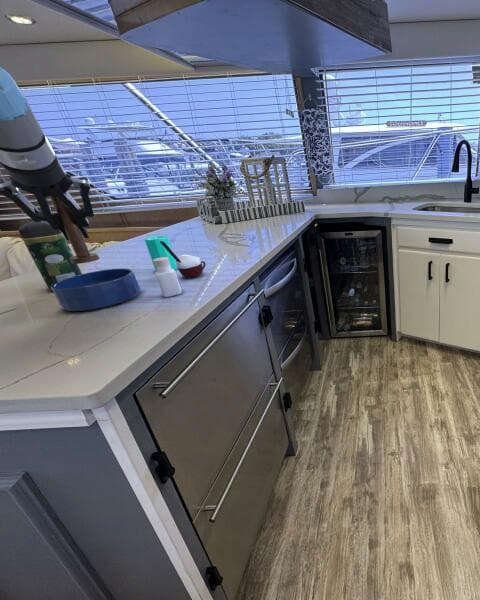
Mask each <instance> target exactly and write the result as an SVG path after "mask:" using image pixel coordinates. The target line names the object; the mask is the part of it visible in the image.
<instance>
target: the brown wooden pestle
mask: <svg viewBox="0 0 480 600" xmlns="http://www.w3.org/2000/svg"><path fill="white" fill-rule="evenodd" d="M49 199H50V200H51V203H52V205H53V207H54V209H55V211H56V213H57V214H58V216H59V218H60V220H61V223H62V225H63V227H64V229H65V232H66V234H67V236H68V238H69V240H68V241H69V242H70V243H69V244H70V245H71V247H72V250H73V252H74V254H75V255H73V257H70V258H69V259H70V261H71V263H72V264H78V265H80V264H87V263H91V262H92V263H93V262H97V261H98V260H100V256H99V253H97V252H92V253H91V252H90V250H89V248H88V246H87V244H86V241H85V238H84V236H83V234H82V233H81V231H80V229H79V227H78V226H77V224H76V223H75V221H74V218H73V213H72V212H71V210H70V209H69V208H68V207H67V206H66V205H65V204H64V202H63V201H61V200H60V199H59V198H58V197H57V196H49Z"/></svg>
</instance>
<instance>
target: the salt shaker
mask: <svg viewBox="0 0 480 600" xmlns="http://www.w3.org/2000/svg"><path fill="white" fill-rule="evenodd" d="M153 263H154V265H153V267H154V266H155V268H156V270H157V272H156V270H155V272H154V274H155V278H156V281H157V282H158V286H159V288H160V291H161V294H162V296H163V297H164V298H169V297H173V296H178V295H181V294H182V293H183V290H182V287H181V285H180V282H179V278H178V275H177V273H176V270H174V269H171V266H170V262H169V259H168V258H167V257H162V258H156V259H154V260H153V262H152V264H153ZM155 268H154V269H155Z"/></svg>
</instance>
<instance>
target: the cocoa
mask: <svg viewBox="0 0 480 600" xmlns="http://www.w3.org/2000/svg"><path fill="white" fill-rule="evenodd" d="M160 243H161V244H162V245H163V246H164V247H165V249H166V250H167V251H168V252H169V253H170V254H171V255H172V257H173V258H174V259H175V262H176V265H177V269H178V272H179V273H180V275H181V276H182V277H184V278H185V279H195V278H198V277H200V276H201V275H202V274H203V272H204V270H205V267H206V262H205V261H204V260H201V258H200V257H199V256H194V255H189V254H181V255H179V256H177V255H176V254H175V252H173V250H171V249H172V248H171V249H170V248H169V247H168V246H167V245H166V244H165V242H163V241H160Z"/></svg>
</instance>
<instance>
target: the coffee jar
mask: <svg viewBox="0 0 480 600" xmlns="http://www.w3.org/2000/svg"><path fill="white" fill-rule="evenodd" d="M17 231H18V233H19V235H20V238H21V240H22V241H23V243H24V245H25V247H26V249H27V251H28V253H29V256H30V257H31V258H32V260H33V263H34V264H35V266H36V268H37V270H38V271H39V273H40V275H41V277H42V279H43V281H44V283H45V285H46V287H47V288H48V290H49V291H52V292H53V290H52V288H51V286H52V285H53V284H54V283H56V282H58V281H61V280H63V279H66V278H69V277H73V276H76V275H80V274H83V272H82V271H81V268H80V267H79V264H72V263H71V261H70V259H69V258H70V257H73V256H74V254H73V252H72V250H71V247H70V245H69V243H68V240H67V239H66V238H65V236H64V235H63V233H62V232H61V230H54V229H53V228H52V227H51V226H50V224H49V223H48V222H47V221H41V222H35V221H33V220H32V221H28V222H27V223H26V224H24V225H21V226H20V227H19V228H18V229H17Z"/></svg>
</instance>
